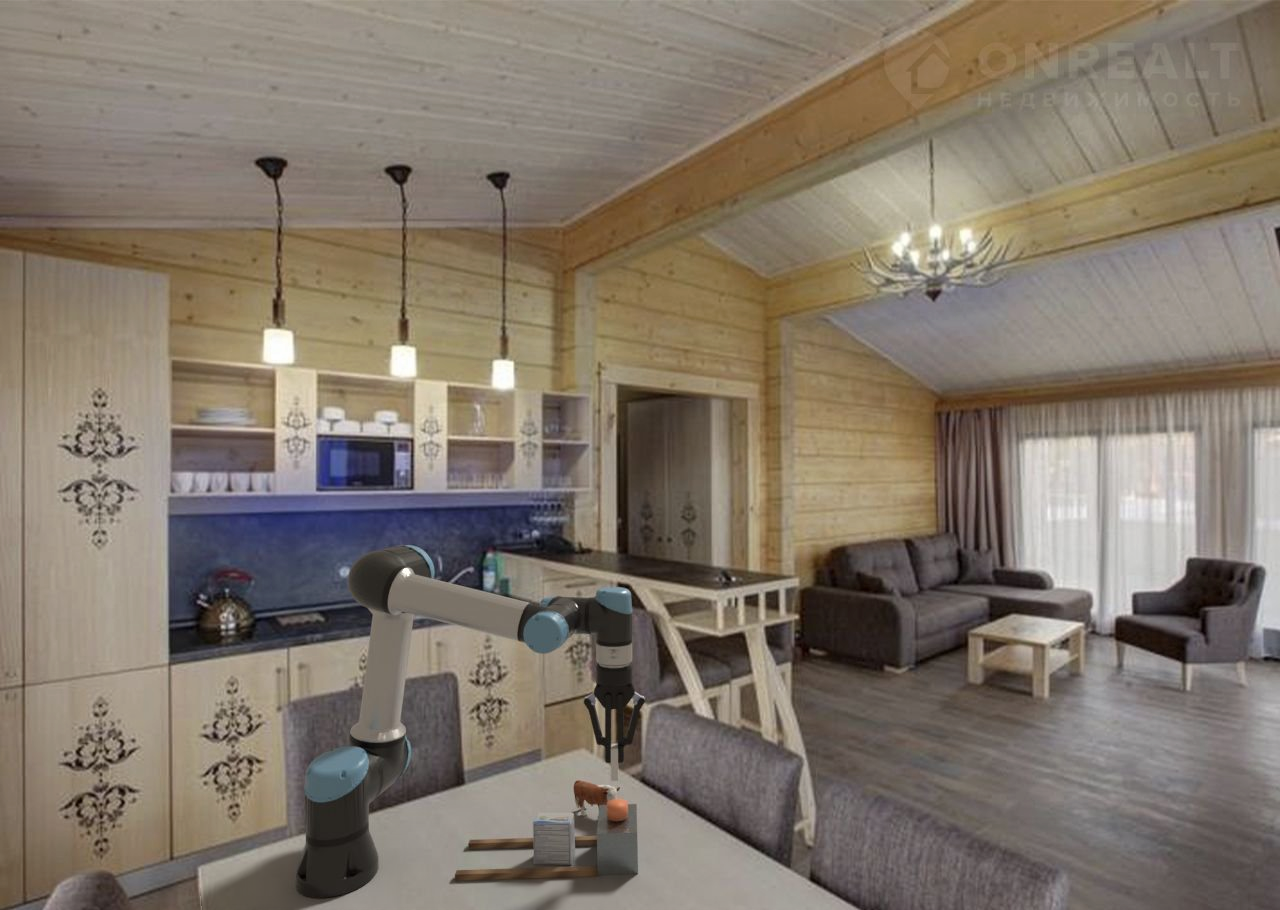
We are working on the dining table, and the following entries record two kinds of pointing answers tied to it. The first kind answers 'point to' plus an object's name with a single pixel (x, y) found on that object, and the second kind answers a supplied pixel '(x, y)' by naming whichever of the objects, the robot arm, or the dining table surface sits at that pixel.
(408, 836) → the dining table surface
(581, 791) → the bull figurine
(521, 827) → the dining table surface
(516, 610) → the robot arm
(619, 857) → the end cabinet
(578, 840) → the track
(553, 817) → the medicine box
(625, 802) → the gauge button
